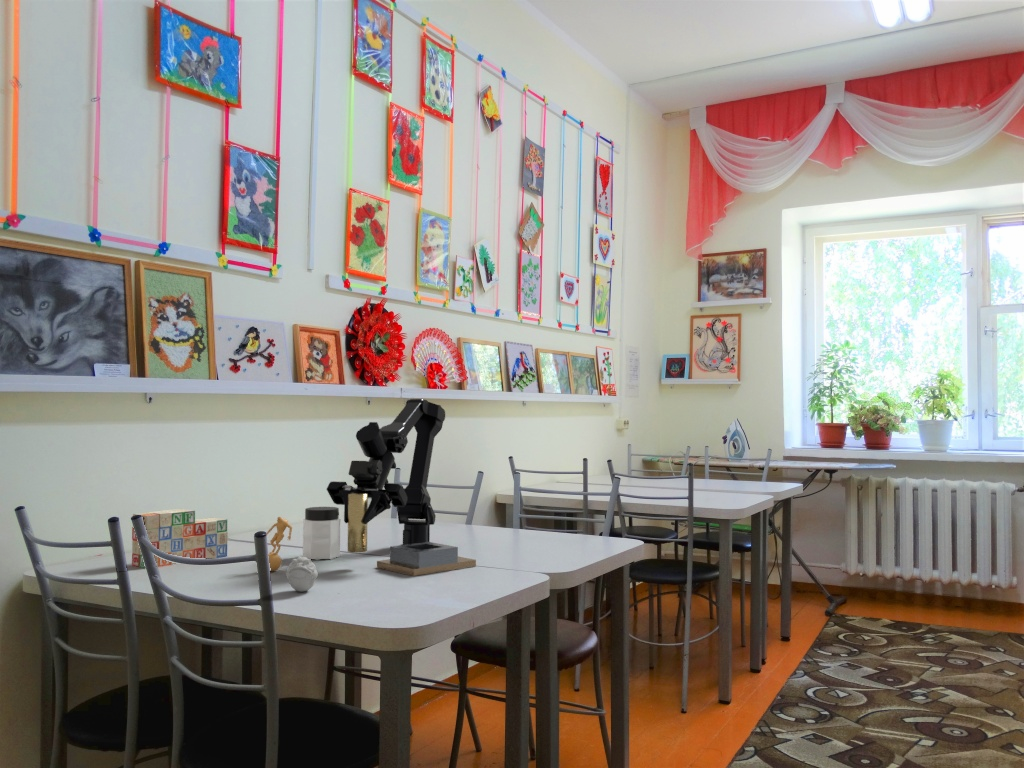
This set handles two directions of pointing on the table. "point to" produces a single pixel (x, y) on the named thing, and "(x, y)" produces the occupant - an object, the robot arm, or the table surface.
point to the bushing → (357, 522)
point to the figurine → (277, 542)
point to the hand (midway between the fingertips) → (354, 522)
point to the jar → (321, 533)
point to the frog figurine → (301, 574)
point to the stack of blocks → (182, 536)
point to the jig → (424, 559)
